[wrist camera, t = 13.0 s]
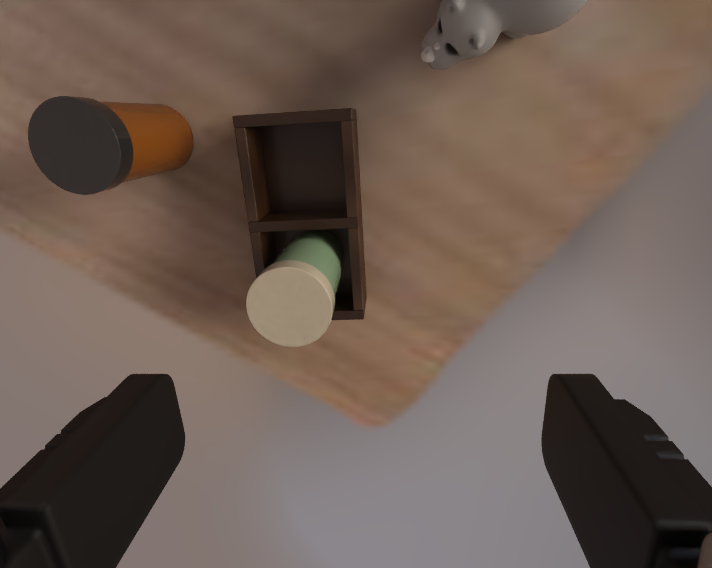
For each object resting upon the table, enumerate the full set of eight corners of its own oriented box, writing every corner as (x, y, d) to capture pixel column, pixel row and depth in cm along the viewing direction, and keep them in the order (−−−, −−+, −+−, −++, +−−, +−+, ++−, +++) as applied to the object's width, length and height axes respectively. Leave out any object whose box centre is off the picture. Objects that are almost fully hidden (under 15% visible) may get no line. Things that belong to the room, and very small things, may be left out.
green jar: (280, 227, 38) (239, 268, 28) (345, 224, 37) (328, 265, 27) (287, 288, 40) (252, 348, 30) (349, 286, 39) (335, 346, 29)
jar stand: (251, 115, 35) (232, 115, 31) (356, 109, 35) (351, 108, 30) (275, 300, 41) (262, 322, 37) (366, 297, 40) (363, 319, 36)
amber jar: (121, 104, 36) (14, 99, 26) (188, 99, 35) (106, 92, 25) (138, 174, 38) (44, 197, 28) (201, 171, 37) (130, 192, 27)
